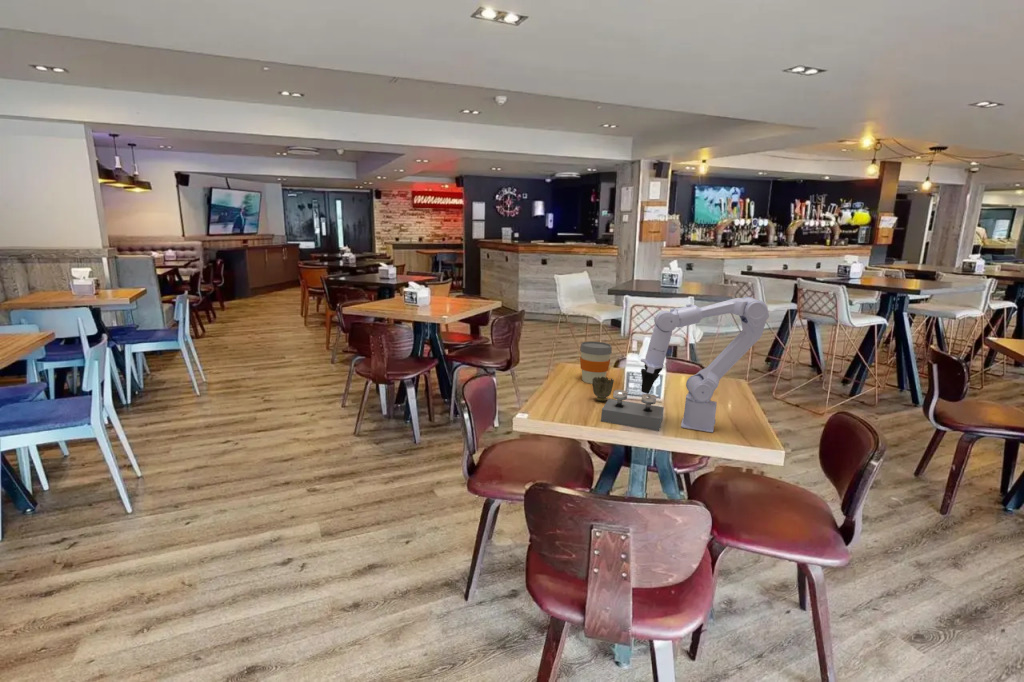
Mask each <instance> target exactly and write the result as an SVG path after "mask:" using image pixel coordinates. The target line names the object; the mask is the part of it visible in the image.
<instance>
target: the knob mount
mask: <svg viewBox="0 0 1024 682" xmlns="http://www.w3.org/2000/svg"><path fill="white" fill-rule="evenodd" d="M645 407H646V404H645V403H638V402H633V401H627V400H622V406H617V399H615V398H607V400H606V401H605V404H604V405H603V407H602V409H601V417H600V422H604V423H609V424H614V425H619V426H620V425H621V426H627V427H633V428H638V429H643V430H650V431H657V432H660V430H661V426H662V423H663V419H664V409H665V407H664V406H661V405H660V406H658V405H654V404H651V409H650V411H647V410H645Z"/></svg>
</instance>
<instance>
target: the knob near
mask: <svg viewBox="0 0 1024 682" xmlns="http://www.w3.org/2000/svg"><path fill="white" fill-rule="evenodd" d="M641 402H642V404H646V407H645V410H647V411H650V409H651V405H655V404H657V403H656V402H657V395H654V394H651V393H648V394H647V393H642V394H641Z"/></svg>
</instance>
